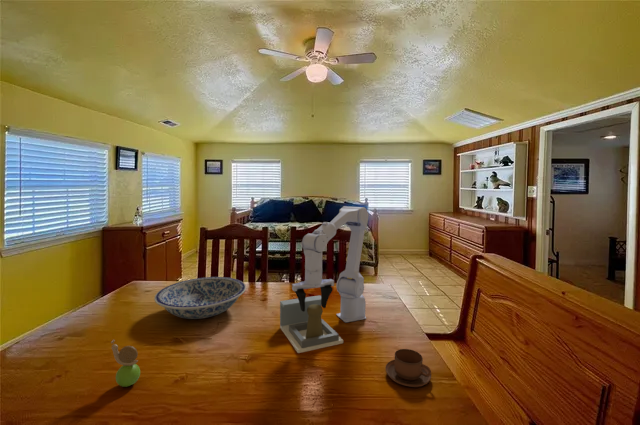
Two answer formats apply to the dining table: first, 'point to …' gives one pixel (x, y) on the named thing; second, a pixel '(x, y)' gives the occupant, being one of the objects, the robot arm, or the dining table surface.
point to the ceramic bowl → (200, 296)
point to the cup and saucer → (408, 369)
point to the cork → (314, 321)
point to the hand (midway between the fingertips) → (313, 308)
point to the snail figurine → (126, 365)
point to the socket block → (304, 326)
